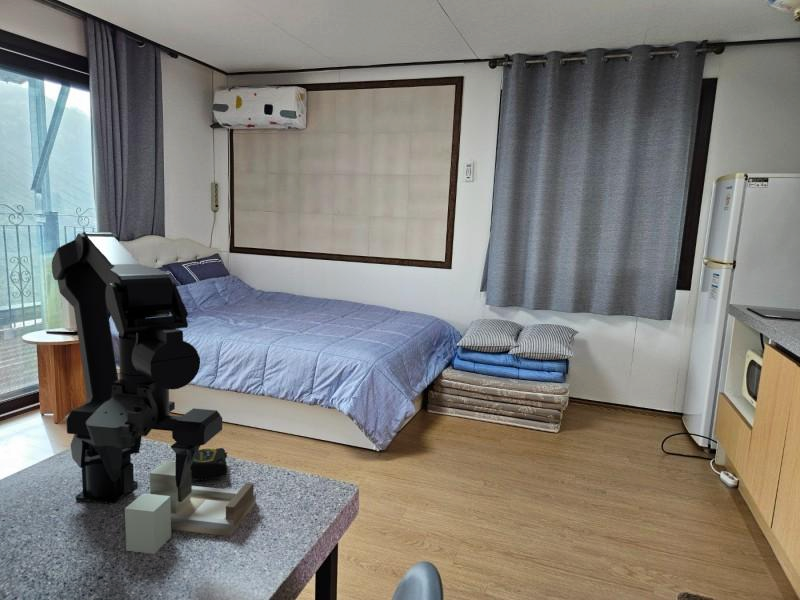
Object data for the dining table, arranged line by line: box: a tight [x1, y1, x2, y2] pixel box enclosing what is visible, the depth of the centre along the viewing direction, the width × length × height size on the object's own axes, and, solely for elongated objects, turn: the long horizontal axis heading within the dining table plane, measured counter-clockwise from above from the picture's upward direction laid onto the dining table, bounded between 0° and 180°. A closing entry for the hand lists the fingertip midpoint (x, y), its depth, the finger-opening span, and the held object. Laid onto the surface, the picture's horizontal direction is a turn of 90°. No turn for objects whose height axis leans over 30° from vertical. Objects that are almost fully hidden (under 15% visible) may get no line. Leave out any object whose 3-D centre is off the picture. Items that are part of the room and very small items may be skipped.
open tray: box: [149, 460, 257, 537], centre depth 79 cm, size 14×9×7 cm, turn 83°
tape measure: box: [190, 447, 228, 481], centre depth 91 cm, size 7×7×4 cm
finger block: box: [124, 493, 172, 555], centre depth 72 cm, size 4×4×6 cm
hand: (147, 482), depth 71 cm, fingers open, 9 cm apart
